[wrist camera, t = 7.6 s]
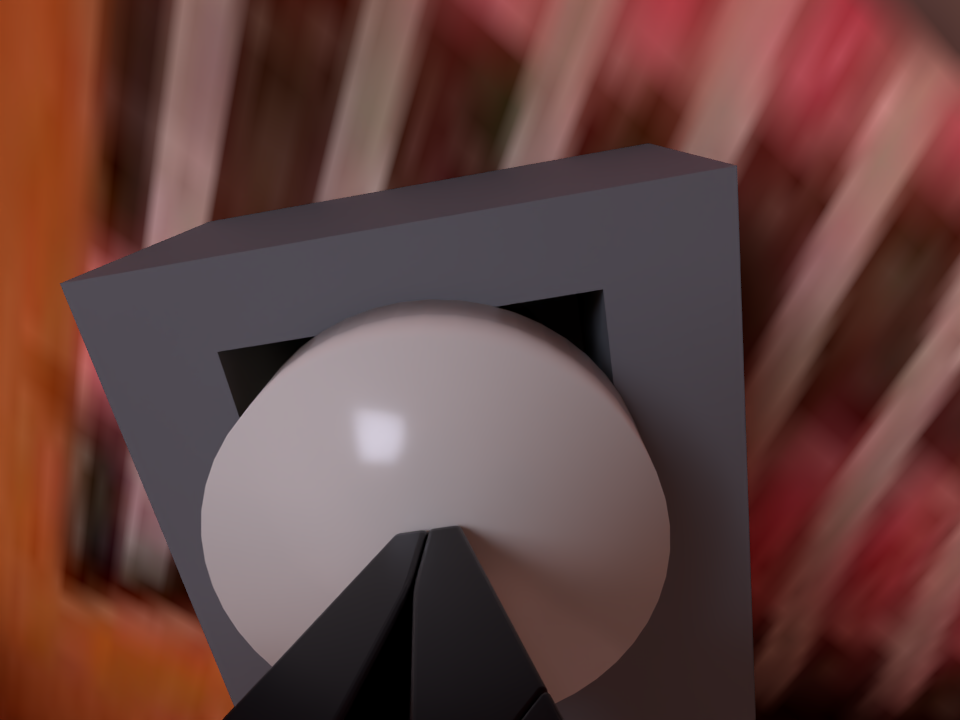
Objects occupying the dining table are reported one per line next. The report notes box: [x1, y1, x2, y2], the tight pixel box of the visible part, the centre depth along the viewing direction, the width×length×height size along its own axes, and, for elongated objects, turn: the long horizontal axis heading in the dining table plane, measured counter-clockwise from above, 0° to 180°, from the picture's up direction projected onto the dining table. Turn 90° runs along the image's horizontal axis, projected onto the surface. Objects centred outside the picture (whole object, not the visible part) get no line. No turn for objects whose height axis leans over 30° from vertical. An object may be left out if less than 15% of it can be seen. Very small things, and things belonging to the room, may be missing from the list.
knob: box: [201, 299, 670, 703], centre depth 11 cm, size 6×6×6 cm
